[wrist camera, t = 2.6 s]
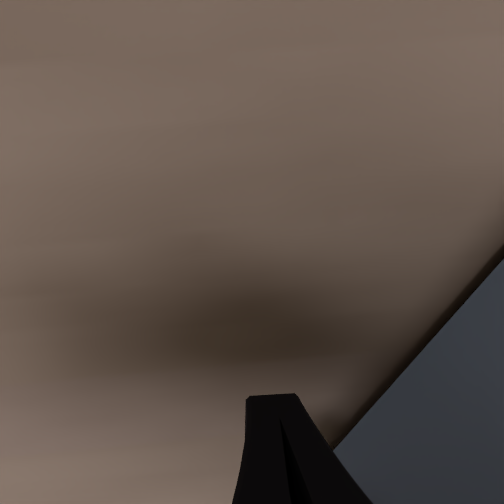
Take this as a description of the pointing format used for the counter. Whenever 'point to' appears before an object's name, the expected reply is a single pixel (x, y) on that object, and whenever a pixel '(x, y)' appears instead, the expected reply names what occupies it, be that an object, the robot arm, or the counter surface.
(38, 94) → the counter surface
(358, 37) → the counter surface
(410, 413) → the slate door
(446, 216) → the counter surface
